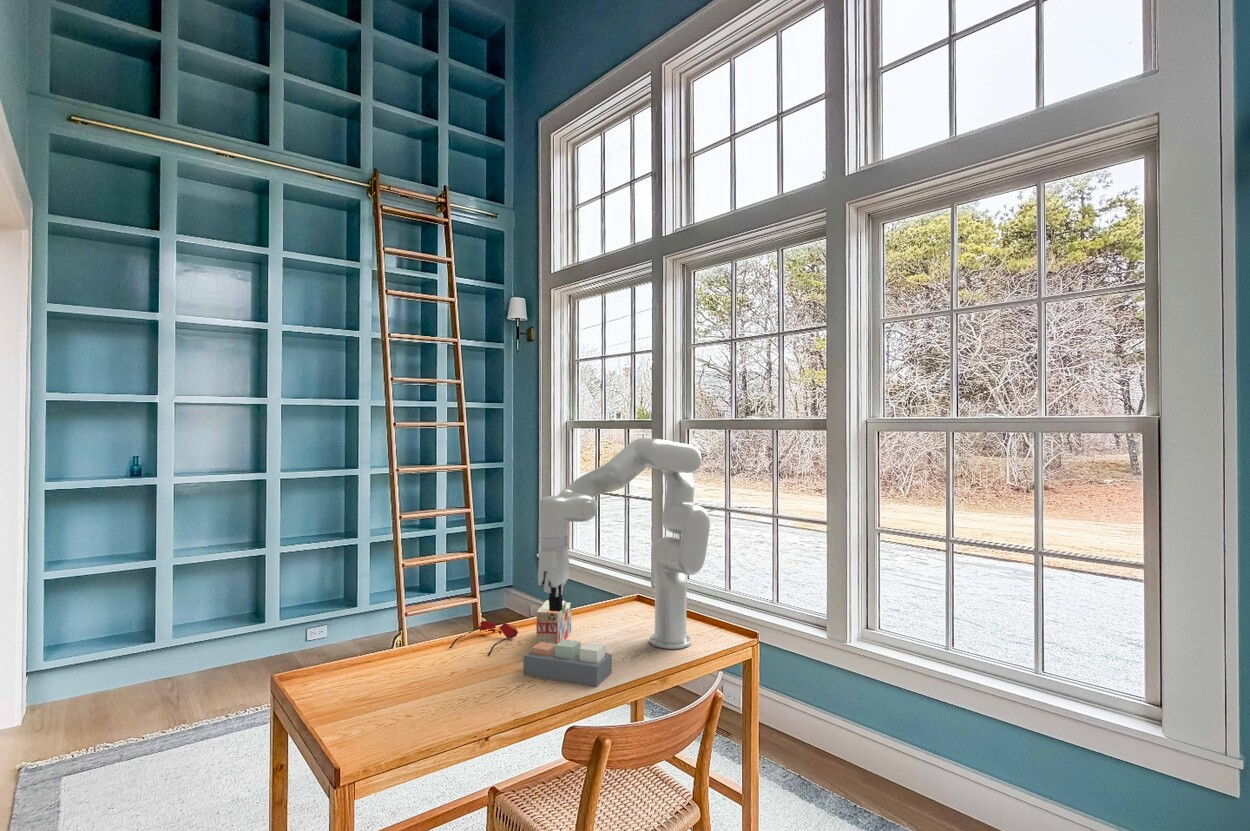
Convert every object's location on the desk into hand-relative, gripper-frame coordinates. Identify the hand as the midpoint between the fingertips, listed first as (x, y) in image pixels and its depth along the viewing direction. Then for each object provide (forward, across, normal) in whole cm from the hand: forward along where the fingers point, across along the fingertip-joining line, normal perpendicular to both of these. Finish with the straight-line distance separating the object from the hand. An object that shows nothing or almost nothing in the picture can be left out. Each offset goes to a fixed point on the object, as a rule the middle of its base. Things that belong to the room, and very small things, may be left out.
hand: (555, 610), depth 179 cm
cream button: (+13, +2, +11) cm, 17 cm away
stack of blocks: (+16, -19, -11) cm, 27 cm away
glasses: (+16, -9, -29) cm, 34 cm away
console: (+16, +2, +4) cm, 17 cm away
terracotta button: (+14, +2, -3) cm, 15 cm away
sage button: (+13, +2, +4) cm, 14 cm away
